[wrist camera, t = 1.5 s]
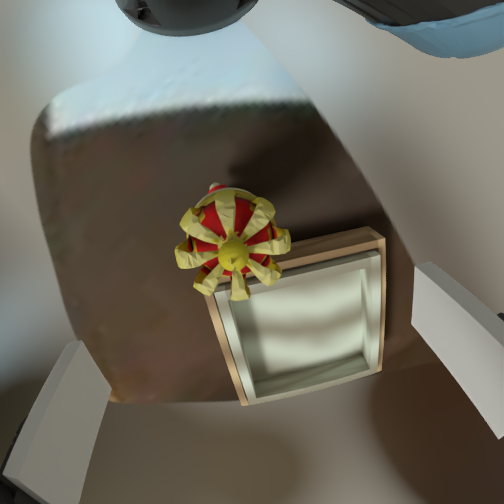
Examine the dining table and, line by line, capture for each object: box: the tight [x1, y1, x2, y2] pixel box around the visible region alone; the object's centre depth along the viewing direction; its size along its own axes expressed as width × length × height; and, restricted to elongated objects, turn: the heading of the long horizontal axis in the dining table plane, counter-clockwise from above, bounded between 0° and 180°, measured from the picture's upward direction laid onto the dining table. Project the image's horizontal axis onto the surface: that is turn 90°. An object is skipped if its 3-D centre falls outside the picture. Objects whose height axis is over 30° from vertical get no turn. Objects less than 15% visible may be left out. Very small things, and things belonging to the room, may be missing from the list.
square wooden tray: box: [204, 226, 386, 406], centre depth 33 cm, size 18×18×5 cm
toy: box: [175, 183, 291, 301], centre depth 23 cm, size 7×7×15 cm
